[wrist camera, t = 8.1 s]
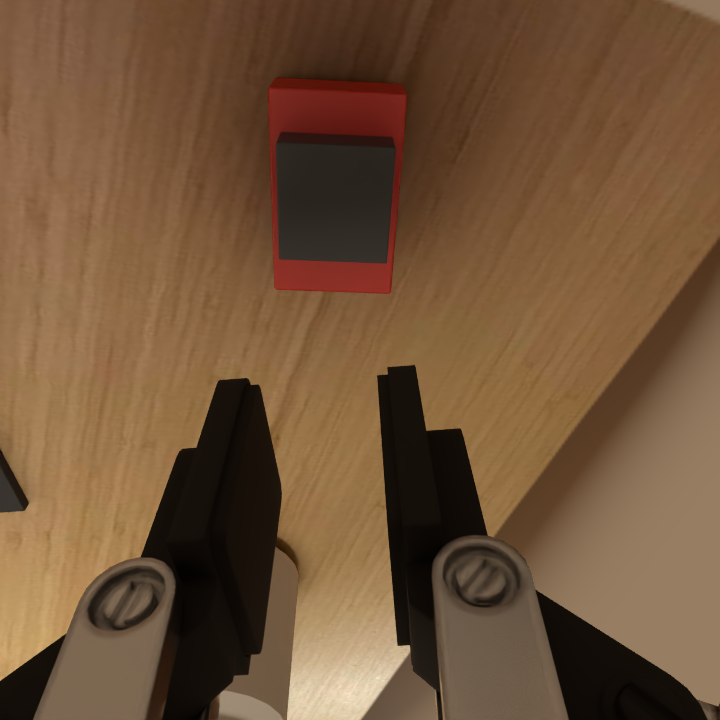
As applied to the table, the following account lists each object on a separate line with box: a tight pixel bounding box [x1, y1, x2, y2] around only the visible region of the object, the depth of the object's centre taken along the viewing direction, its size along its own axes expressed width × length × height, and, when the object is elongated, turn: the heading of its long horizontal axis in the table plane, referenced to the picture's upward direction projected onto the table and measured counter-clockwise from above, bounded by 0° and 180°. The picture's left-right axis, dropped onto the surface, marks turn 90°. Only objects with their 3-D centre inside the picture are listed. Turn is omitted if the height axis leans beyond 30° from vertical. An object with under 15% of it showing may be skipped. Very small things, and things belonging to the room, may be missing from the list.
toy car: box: [268, 78, 407, 294], centre depth 24 cm, size 8×5×5 cm
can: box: [218, 546, 299, 720], centre depth 35 cm, size 8×8×12 cm
